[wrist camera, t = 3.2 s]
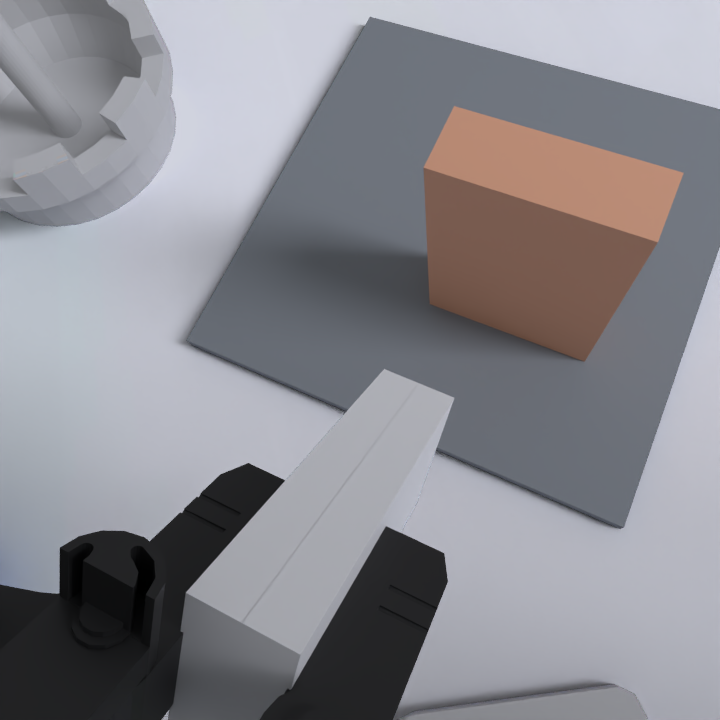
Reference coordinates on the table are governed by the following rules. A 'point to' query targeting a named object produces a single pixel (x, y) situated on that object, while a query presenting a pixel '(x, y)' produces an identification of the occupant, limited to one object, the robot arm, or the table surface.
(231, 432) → the table surface
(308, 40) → the table surface
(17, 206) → the flag stand
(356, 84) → the mat
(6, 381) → the table surface
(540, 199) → the card deck
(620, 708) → the handheld gaming console
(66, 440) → the table surface
